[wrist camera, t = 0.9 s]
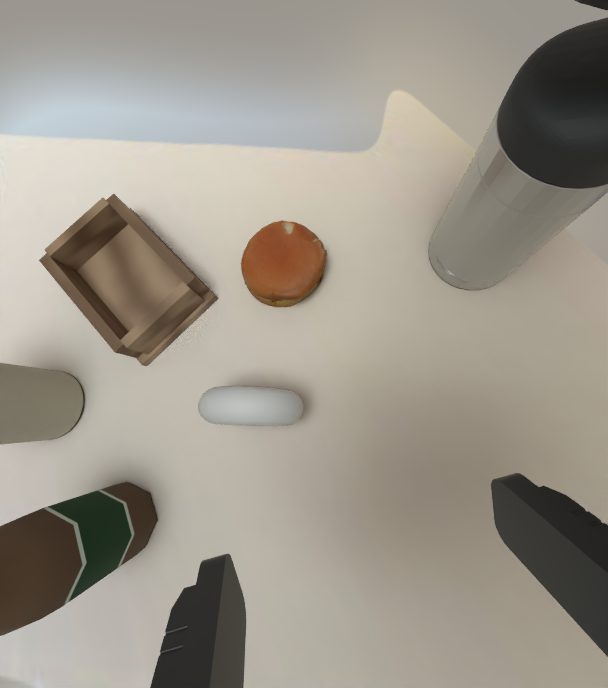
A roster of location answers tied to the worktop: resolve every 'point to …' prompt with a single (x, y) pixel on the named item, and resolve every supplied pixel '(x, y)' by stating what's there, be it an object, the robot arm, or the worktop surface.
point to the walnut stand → (126, 280)
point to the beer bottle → (68, 550)
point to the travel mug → (37, 403)
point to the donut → (250, 406)
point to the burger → (283, 263)
